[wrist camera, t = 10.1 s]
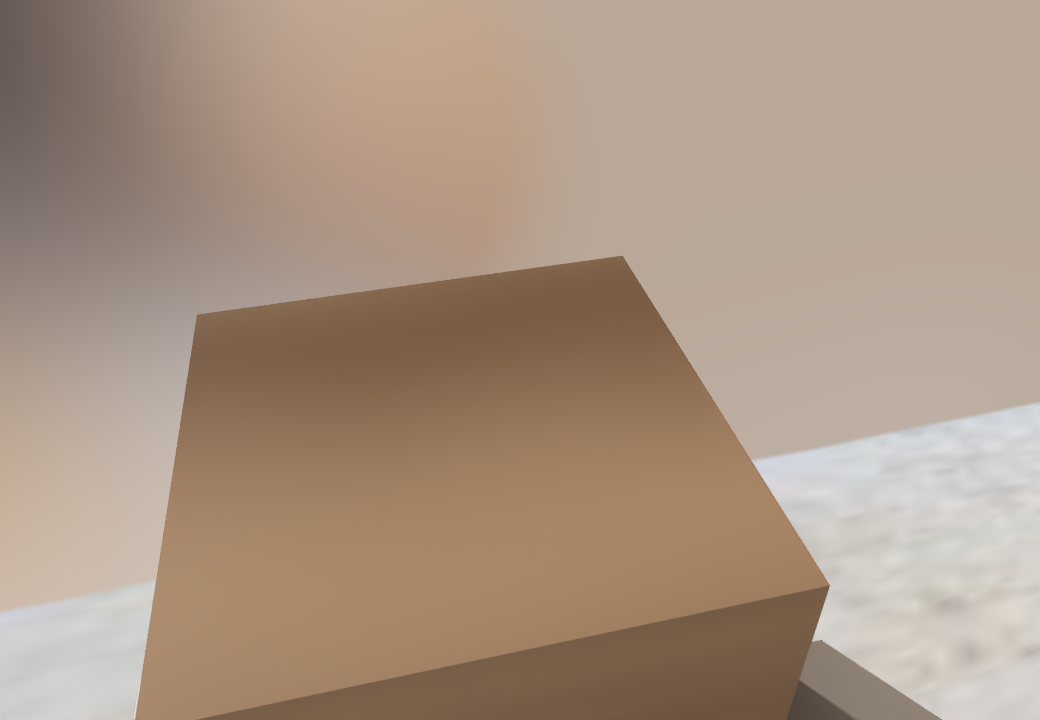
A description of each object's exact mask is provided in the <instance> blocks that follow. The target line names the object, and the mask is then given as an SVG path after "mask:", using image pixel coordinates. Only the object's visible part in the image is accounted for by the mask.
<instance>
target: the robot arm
mask: <svg viewBox="0 0 1040 720" xmlns="http://www.w3.org/2000/svg"><path fill="white" fill-rule="evenodd" d="M141 677H142V675H141ZM141 677H140V681H139V688H138V694H137V700H136V707H135V713H134V719H133V720H135V716H136V710H137V703H138V697H139V690H140V684H141ZM786 720H942V719H940V718H939V717H937V716H936V715H934V714H933V713H931V712H930V711H928V710H927V709H925V708H924V707H922V706H920V705H919V704H917V703H916V702H914V701H913V700H911V699H910V698H908V697H907V696H905V695H904V694H902V693H901V692H899V691H898V690H896V689H895V688H893V687H892V686H890V685H889V684H887V683H886V682H884V681H883V680H881V679H879V678H878V677H876V676H875V675H873V674H872V673H870V672H869V671H867V670H866V669H864V668H863V667H861V666H860V665H858V664H857V663H855V662H854V661H852V660H851V659H849V658H848V657H846V656H845V655H843V654H842V653H840V652H838V651H837V650H835V649H834V648H832V647H831V646H829V645H828V644H826V643H825V642H823V641H822V640H820V641H814V642H811V645H810V648H809V651H808V654H807V657H806V660H805V664H804V667H803V670H802V673H801V676H800V679H799V682H798V685H797V688H796V691H795V694H794V697H793V701H792V704H791V707H790V710H789V713H788V716H787V719H786Z"/></svg>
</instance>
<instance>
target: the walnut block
mask: <svg viewBox="0 0 1040 720" xmlns="http://www.w3.org/2000/svg"><path fill="white" fill-rule="evenodd" d="M829 587H830V585H829V583H828V582H827V580H826V578H825V577H824V575H823V574H822V572H821V571H820V569H819V567H818V566H817V564H816V563H815V561H814V559H813V558H812V556H811V555H810V553H809V551H808V550H807V548H806V547H805V545H804V544H803V542H802V540H801V539H800V537H799V536H798V534H797V532H796V531H795V529H794V528H793V526H792V524H791V523H790V521H789V520H788V518H787V517H786V515H785V513H784V512H783V510H782V509H781V507H780V505H779V504H778V502H777V501H776V499H775V497H774V496H773V494H772V493H771V491H770V489H769V488H768V486H767V485H766V483H765V482H764V480H763V478H762V477H761V475H760V474H759V472H758V470H757V469H756V467H755V466H754V464H753V462H752V461H751V459H750V458H749V456H748V455H747V453H746V452H745V450H744V448H743V447H742V445H741V444H740V442H739V440H738V439H737V437H736V435H735V434H734V433H733V431H732V429H731V428H730V426H729V424H728V423H727V421H726V420H725V418H724V417H723V415H722V413H721V412H720V410H719V408H718V407H717V405H716V404H715V402H714V401H713V399H712V397H711V396H710V394H709V393H708V391H707V389H706V388H705V386H704V385H703V383H702V381H701V380H700V378H699V377H698V375H697V374H696V372H695V370H694V369H693V367H692V366H691V364H690V362H689V361H688V359H687V358H686V356H685V355H684V353H683V351H682V350H681V348H680V347H679V345H678V343H677V342H676V340H675V339H674V337H673V335H672V334H671V332H670V331H669V329H668V328H667V326H666V324H665V323H664V321H663V320H662V318H661V316H660V315H659V313H658V312H657V310H656V308H655V307H654V305H653V304H652V302H651V301H650V299H649V297H648V296H647V294H646V293H645V291H644V289H643V288H642V286H641V285H640V283H639V282H638V280H637V278H636V277H635V275H634V273H633V272H632V270H631V269H630V267H629V266H628V264H627V262H626V261H625V259H624V258H623V256H618V257H611V258H604V259H597V260H590V261H582V262H575V263H568V264H560V265H553V266H546V267H539V268H532V269H525V270H517V271H510V272H503V273H495V274H489V275H481V276H473V277H467V278H459V279H453V280H445V281H437V282H431V283H423V284H416V285H409V286H401V287H395V288H387V289H380V290H373V291H365V292H358V293H351V294H343V295H336V296H329V297H322V298H315V299H307V300H300V301H293V302H287V303H278V304H271V305H265V306H258V307H250V308H242V309H235V310H228V311H221V312H213V313H206V314H200V315H197V319H196V326H195V332H194V339H193V345H192V352H191V358H190V365H189V372H188V378H187V384H186V391H185V397H184V404H183V410H182V417H181V424H180V431H179V436H178V443H177V449H176V456H175V463H174V469H173V475H172V482H171V489H170V495H169V501H168V509H167V514H166V521H165V527H164V534H163V540H162V547H161V554H160V560H159V567H158V573H157V579H156V586H155V592H154V599H153V605H152V612H151V618H150V625H149V631H148V638H147V644H146V651H145V658H144V664H143V671H142V677H141V684H140V690H139V697H138V703H137V710H136V716H135V720H786V719H787V716H788V713H789V710H790V707H791V704H792V701H793V697H794V694H795V691H796V688H797V685H798V682H799V679H800V676H801V673H802V670H803V667H804V664H805V660H806V657H807V654H808V651H809V648H810V645H811V642H812V639H813V636H814V633H815V630H816V627H817V623H818V620H819V617H820V614H821V611H822V608H823V605H824V602H825V599H826V596H827V593H828V590H829Z"/></svg>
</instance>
